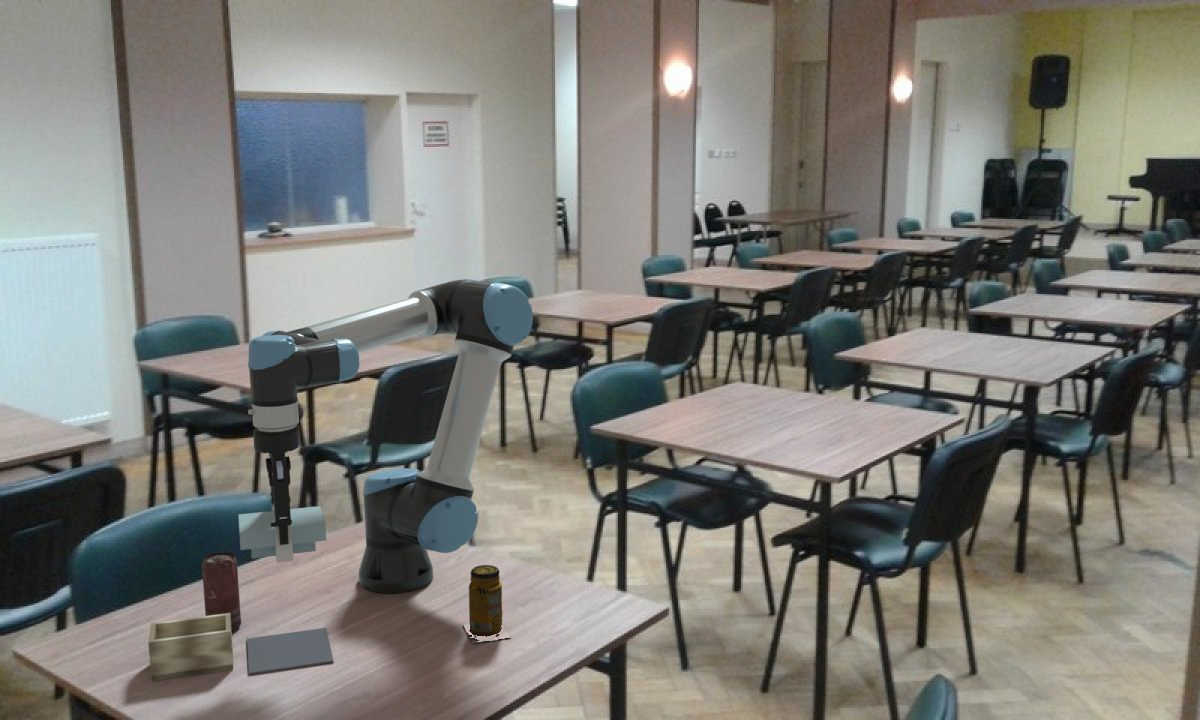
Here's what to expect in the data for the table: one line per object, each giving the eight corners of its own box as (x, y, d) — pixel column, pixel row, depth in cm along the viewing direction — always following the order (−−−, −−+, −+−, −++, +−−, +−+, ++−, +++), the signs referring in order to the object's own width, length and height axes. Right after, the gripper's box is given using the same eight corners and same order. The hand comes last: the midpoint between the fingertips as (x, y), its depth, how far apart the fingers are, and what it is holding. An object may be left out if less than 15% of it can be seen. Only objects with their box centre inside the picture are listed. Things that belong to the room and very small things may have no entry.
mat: (326, 629, 201) (326, 627, 201) (333, 662, 188) (333, 660, 188) (247, 640, 197) (246, 638, 197) (249, 675, 184) (248, 672, 184)
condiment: (499, 620, 205) (498, 560, 203) (511, 639, 198) (510, 576, 195) (461, 626, 203) (460, 565, 201) (472, 645, 195) (470, 582, 193)
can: (231, 636, 198) (226, 564, 196) (200, 633, 200) (194, 561, 197) (248, 623, 204) (244, 552, 202) (218, 620, 205) (213, 550, 203)
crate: (232, 649, 193) (230, 612, 192) (233, 669, 186) (230, 631, 184) (154, 660, 189) (151, 623, 188) (151, 681, 182) (148, 642, 180)
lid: (321, 535, 196) (320, 506, 195) (326, 554, 186) (325, 523, 185) (240, 544, 191) (238, 514, 190) (241, 564, 182) (239, 533, 181)
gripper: (251, 413, 194) (258, 531, 198) (254, 444, 173) (263, 576, 177) (294, 410, 196) (300, 527, 201) (303, 440, 175) (310, 570, 180)
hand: (283, 550), depth 189 cm, fingers closed on lid, 10 cm apart
